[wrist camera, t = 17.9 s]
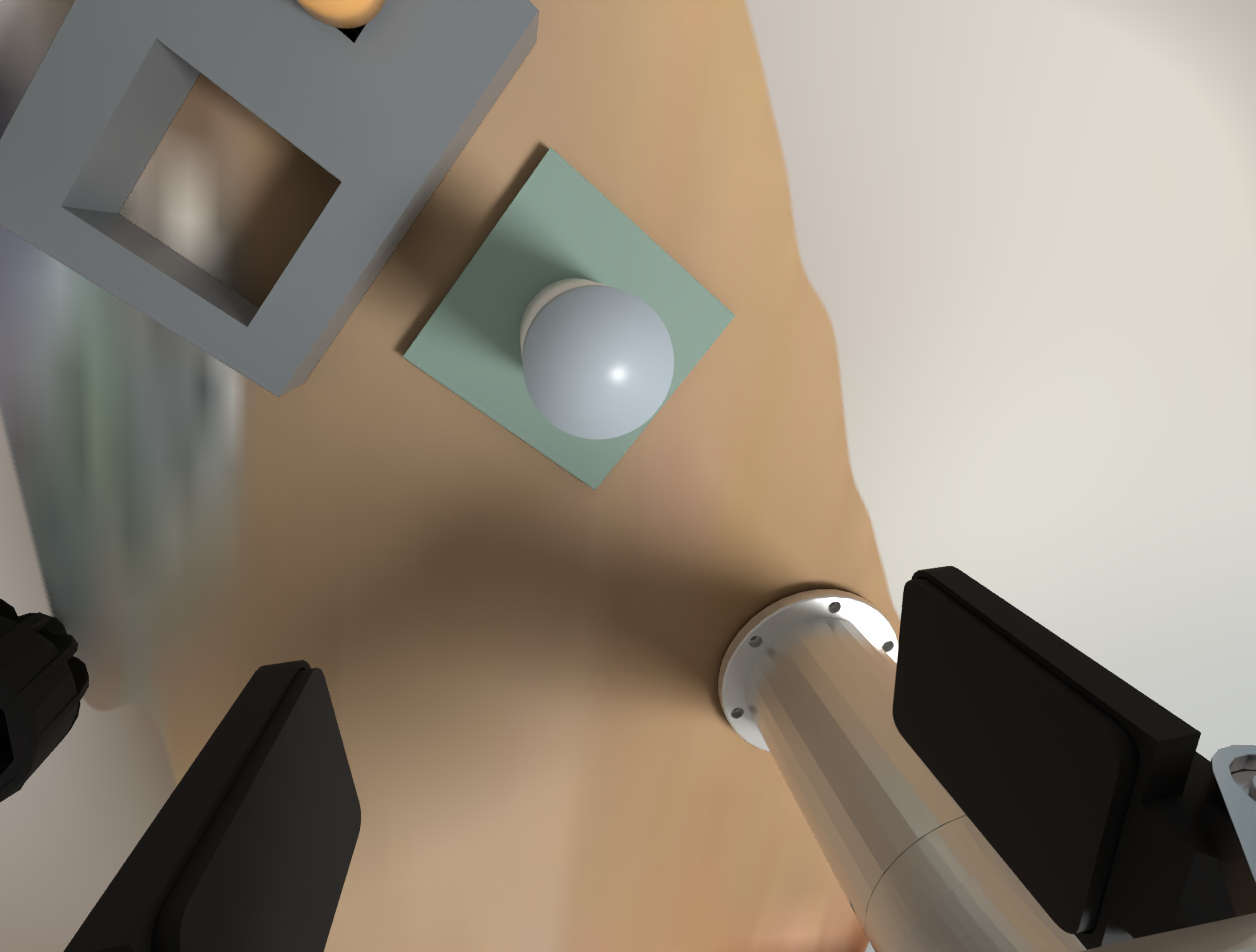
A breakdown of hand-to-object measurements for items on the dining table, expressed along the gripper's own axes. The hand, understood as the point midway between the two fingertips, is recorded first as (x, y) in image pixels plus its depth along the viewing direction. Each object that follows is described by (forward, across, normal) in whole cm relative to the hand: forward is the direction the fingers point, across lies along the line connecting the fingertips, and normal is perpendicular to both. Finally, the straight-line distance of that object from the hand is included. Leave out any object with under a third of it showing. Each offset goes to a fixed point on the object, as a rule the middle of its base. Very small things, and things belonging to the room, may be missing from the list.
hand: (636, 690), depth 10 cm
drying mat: (+24, -1, -3) cm, 24 cm away
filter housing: (+23, +10, -13) cm, 29 cm away
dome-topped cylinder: (+23, -1, -3) cm, 23 cm away
